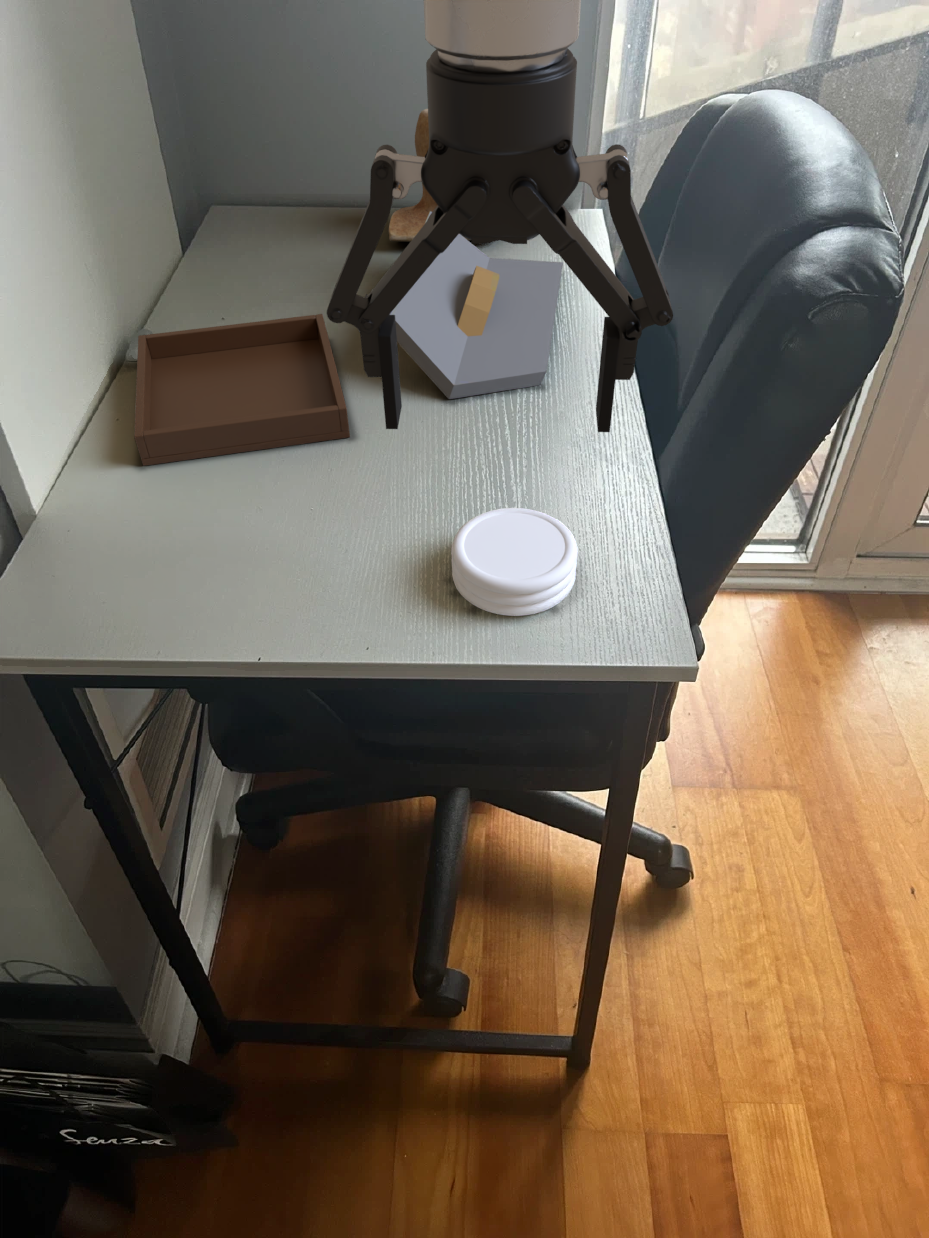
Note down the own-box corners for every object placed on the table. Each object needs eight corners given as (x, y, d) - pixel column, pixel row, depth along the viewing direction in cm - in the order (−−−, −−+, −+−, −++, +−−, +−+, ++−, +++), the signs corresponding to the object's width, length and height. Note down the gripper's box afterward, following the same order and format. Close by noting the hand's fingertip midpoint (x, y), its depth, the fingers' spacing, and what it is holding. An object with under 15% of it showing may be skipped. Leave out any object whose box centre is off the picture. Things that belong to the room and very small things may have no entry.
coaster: (438, 608, 74) (437, 575, 72) (468, 530, 81) (467, 497, 78) (564, 628, 72) (567, 595, 70) (583, 546, 79) (586, 513, 77)
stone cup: (500, 214, 130) (501, 94, 119) (507, 250, 121) (509, 124, 111) (390, 217, 129) (382, 97, 119) (389, 254, 121) (380, 128, 110)
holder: (143, 466, 88) (133, 436, 86) (145, 363, 102) (138, 335, 100) (350, 437, 91) (346, 408, 89) (325, 341, 105) (322, 313, 103)
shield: (526, 429, 97) (548, 296, 118) (545, 386, 93) (565, 257, 114) (368, 371, 95) (419, 247, 116) (381, 326, 91) (431, 205, 112)
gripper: (745, 28, 48) (684, 391, 63) (266, 30, 50) (317, 386, 65) (771, 70, 43) (698, 455, 58) (235, 72, 44) (298, 449, 59)
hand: (497, 419), depth 61 cm, fingers open, 13 cm apart
